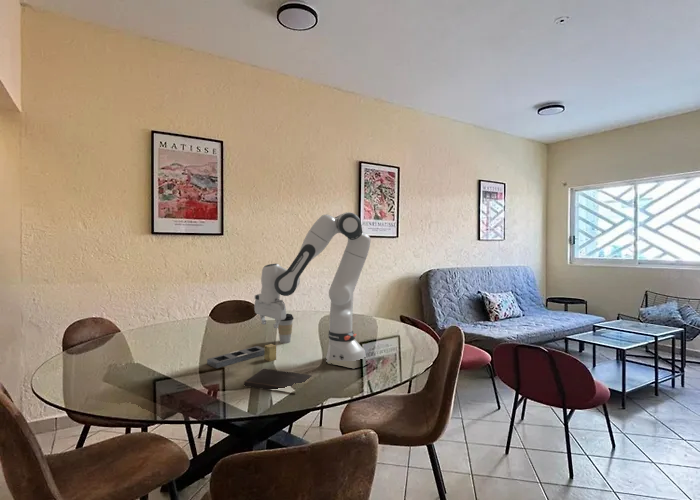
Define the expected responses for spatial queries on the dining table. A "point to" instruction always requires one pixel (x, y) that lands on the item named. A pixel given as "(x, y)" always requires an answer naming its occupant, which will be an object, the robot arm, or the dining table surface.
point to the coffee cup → (285, 329)
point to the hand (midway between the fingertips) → (269, 325)
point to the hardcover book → (275, 379)
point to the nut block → (270, 352)
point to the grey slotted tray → (235, 357)
